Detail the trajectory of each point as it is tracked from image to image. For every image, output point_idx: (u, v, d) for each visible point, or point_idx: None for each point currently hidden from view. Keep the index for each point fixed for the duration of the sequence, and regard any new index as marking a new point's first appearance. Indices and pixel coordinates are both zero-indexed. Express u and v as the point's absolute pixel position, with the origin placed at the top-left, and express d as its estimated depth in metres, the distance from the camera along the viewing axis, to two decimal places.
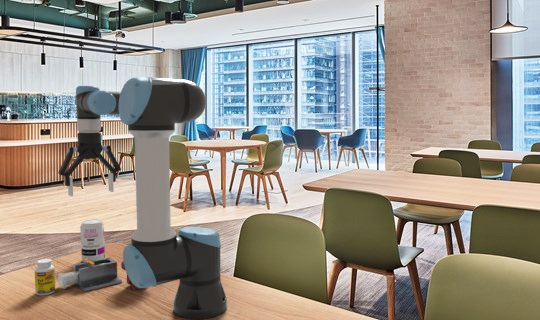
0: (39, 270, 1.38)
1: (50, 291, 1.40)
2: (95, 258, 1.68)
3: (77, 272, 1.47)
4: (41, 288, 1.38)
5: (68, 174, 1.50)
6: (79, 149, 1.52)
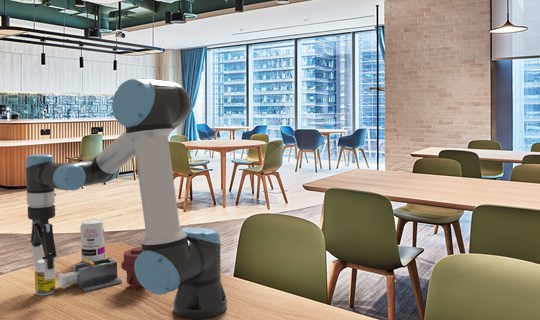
0: (39, 270, 1.38)
1: (50, 291, 1.40)
2: (95, 258, 1.68)
3: (77, 272, 1.47)
4: (41, 288, 1.38)
5: (32, 244, 1.45)
6: (35, 221, 1.41)
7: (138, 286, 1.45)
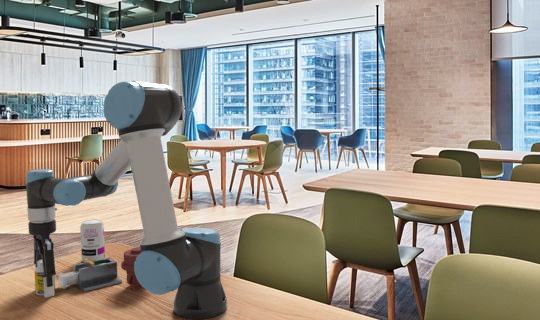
0: (39, 270, 1.38)
1: None
2: (95, 258, 1.68)
3: (77, 272, 1.47)
4: (41, 288, 1.38)
5: (35, 265, 1.44)
6: (36, 237, 1.42)
7: (138, 286, 1.45)
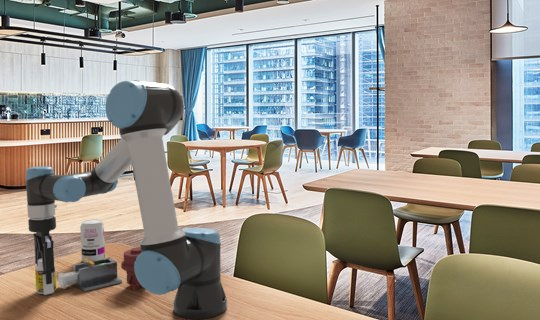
0: (39, 269, 1.38)
1: None
2: (95, 258, 1.68)
3: (77, 272, 1.47)
4: (42, 287, 1.38)
5: (37, 264, 1.43)
6: (36, 234, 1.42)
7: (138, 286, 1.45)
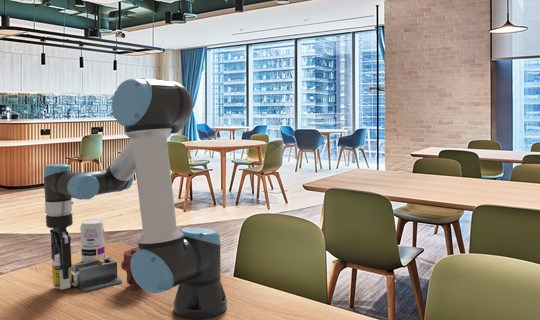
0: (56, 264, 1.41)
1: None
2: None
3: None
4: (59, 281, 1.41)
5: (53, 260, 1.46)
6: (53, 230, 1.45)
7: (138, 286, 1.45)
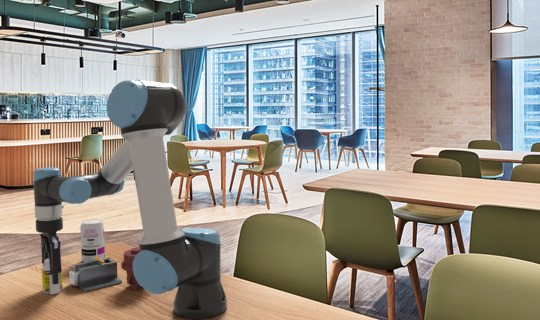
0: (46, 269, 1.39)
1: None
2: None
3: None
4: (49, 286, 1.40)
5: (43, 264, 1.44)
6: (43, 235, 1.43)
7: (138, 286, 1.45)
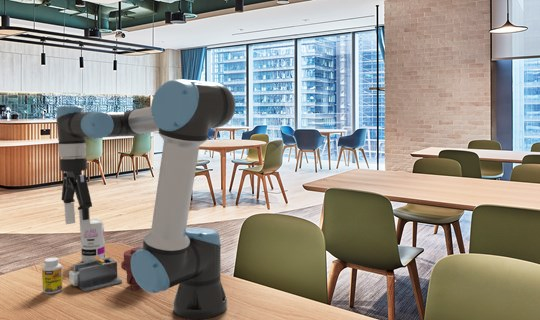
0: (46, 269, 1.39)
1: (57, 289, 1.41)
2: None
3: None
4: (49, 286, 1.40)
5: (64, 200, 1.43)
6: (67, 176, 1.40)
7: (138, 286, 1.45)
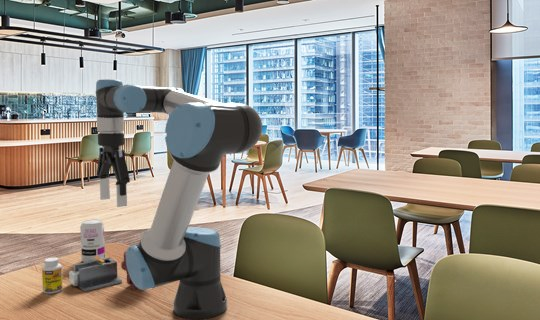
0: (46, 269, 1.39)
1: (57, 289, 1.41)
2: None
3: None
4: (49, 286, 1.40)
5: (99, 176, 1.42)
6: (103, 151, 1.38)
7: None
